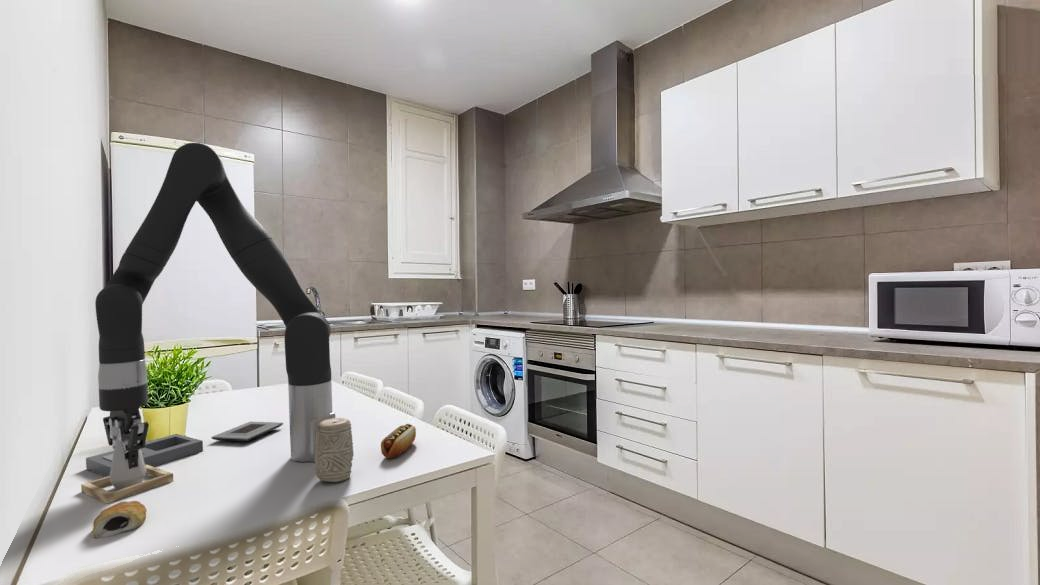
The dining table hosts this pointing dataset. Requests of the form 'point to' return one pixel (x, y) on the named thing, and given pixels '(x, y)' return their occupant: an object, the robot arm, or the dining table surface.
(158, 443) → the grey rectangular frame
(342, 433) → the carving
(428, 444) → the dining table surface
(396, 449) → the hot dog
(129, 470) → the salt shaker
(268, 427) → the electrical outlet
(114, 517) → the pastry
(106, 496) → the wooden square frame
